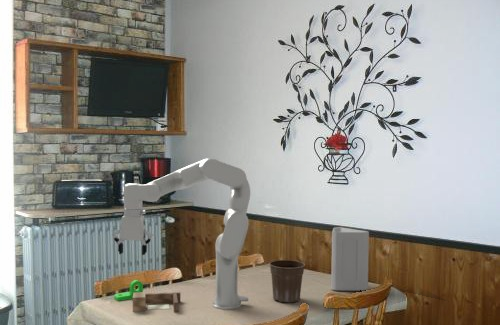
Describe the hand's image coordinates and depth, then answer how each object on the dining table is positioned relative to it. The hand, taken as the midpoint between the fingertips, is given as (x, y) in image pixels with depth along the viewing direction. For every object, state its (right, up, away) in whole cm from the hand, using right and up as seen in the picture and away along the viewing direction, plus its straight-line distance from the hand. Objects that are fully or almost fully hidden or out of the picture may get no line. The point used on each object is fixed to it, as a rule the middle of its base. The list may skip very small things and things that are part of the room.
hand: (132, 254), depth 227 cm
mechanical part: (-6, -23, +17) cm, 29 cm away
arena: (+12, -23, +4) cm, 26 cm away
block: (+3, -23, +1) cm, 23 cm away
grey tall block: (+95, -23, +40) cm, 106 cm away
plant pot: (+66, -24, +18) cm, 72 cm away
